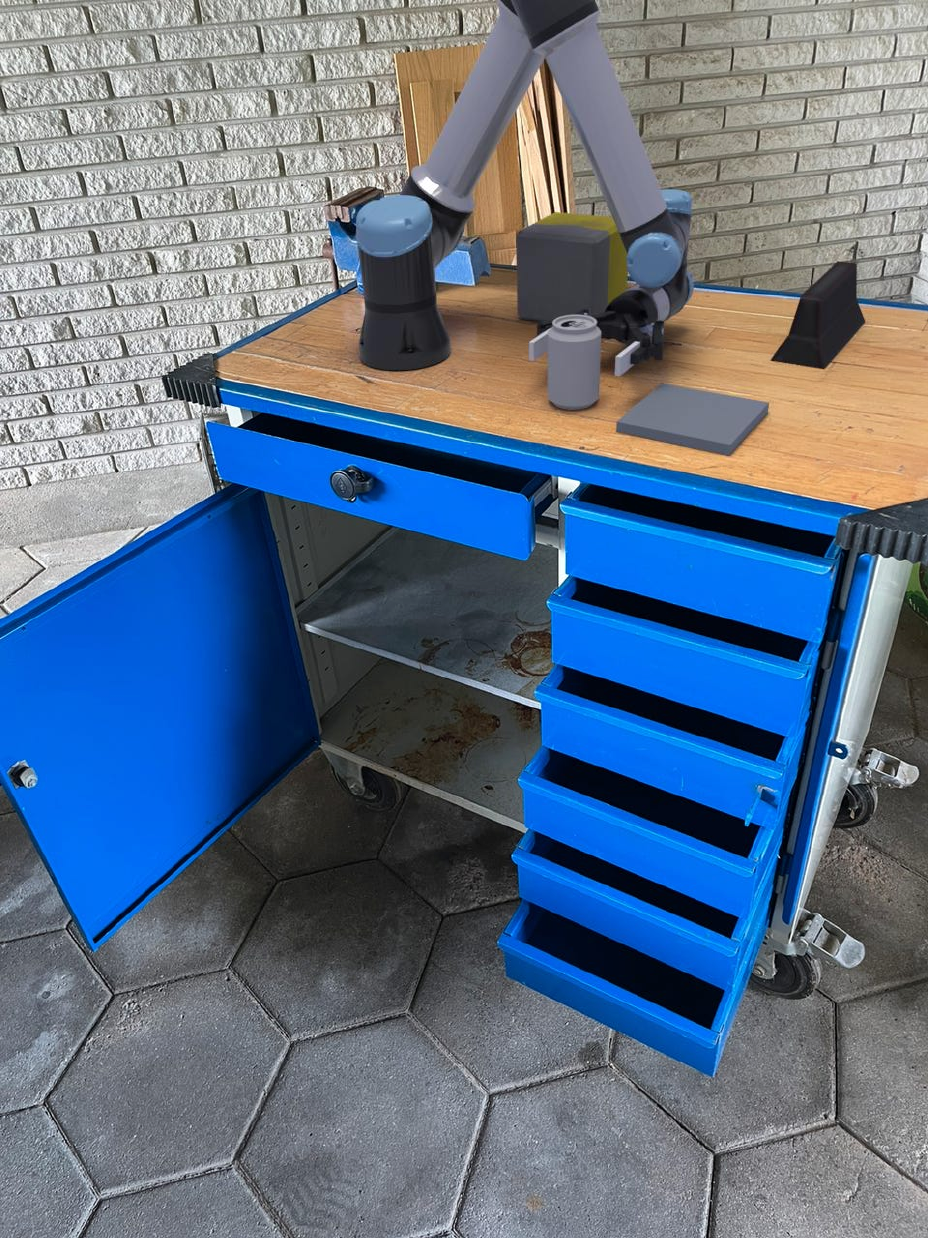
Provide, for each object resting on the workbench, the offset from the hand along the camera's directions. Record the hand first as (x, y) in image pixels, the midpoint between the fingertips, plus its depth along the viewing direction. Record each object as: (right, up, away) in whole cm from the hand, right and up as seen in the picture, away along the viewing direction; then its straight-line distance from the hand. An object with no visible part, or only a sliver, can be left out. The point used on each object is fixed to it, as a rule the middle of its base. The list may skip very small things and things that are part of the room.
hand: (573, 358), depth 135 cm
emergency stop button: (+6, +21, +41) cm, 46 cm away
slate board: (+16, -9, -3) cm, 19 cm away
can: (+1, -5, +5) cm, 7 cm away
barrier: (+42, +8, +20) cm, 47 cm away
